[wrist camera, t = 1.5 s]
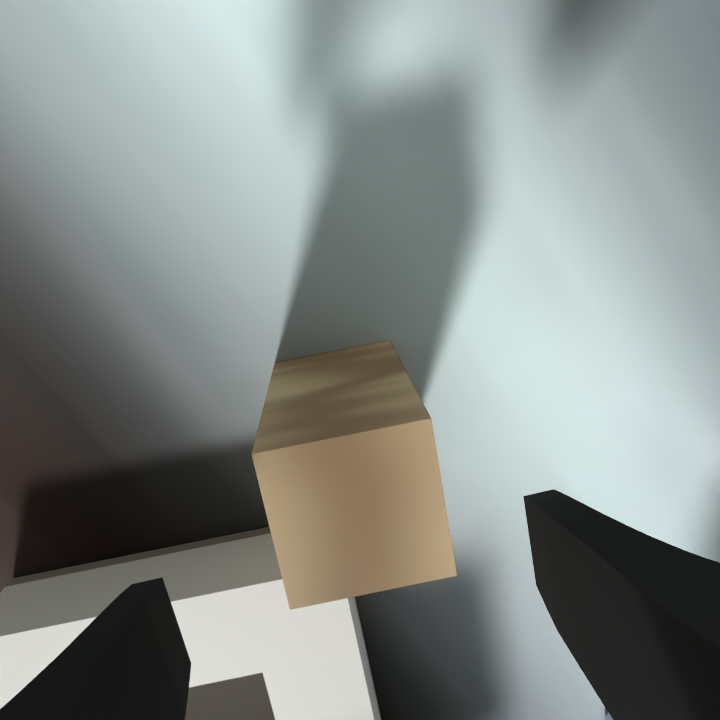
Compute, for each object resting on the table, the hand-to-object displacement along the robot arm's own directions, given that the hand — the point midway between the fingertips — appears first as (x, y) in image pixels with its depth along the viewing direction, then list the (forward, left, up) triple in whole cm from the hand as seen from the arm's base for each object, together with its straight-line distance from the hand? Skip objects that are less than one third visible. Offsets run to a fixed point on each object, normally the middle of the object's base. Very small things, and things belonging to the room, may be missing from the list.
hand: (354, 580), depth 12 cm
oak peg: (0, 0, -10) cm, 10 cm away
